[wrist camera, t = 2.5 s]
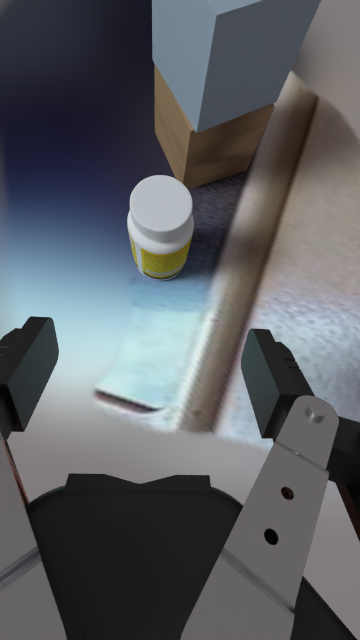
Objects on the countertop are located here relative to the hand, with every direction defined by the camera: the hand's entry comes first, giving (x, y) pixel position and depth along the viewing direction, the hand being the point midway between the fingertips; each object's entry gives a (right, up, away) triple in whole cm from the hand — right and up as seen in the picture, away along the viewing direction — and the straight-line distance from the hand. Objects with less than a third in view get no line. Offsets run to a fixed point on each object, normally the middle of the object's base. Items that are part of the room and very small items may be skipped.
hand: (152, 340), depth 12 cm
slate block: (+4, +19, +10) cm, 22 cm away
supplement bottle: (-1, +7, +14) cm, 16 cm away
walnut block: (+3, +18, +17) cm, 25 cm away
